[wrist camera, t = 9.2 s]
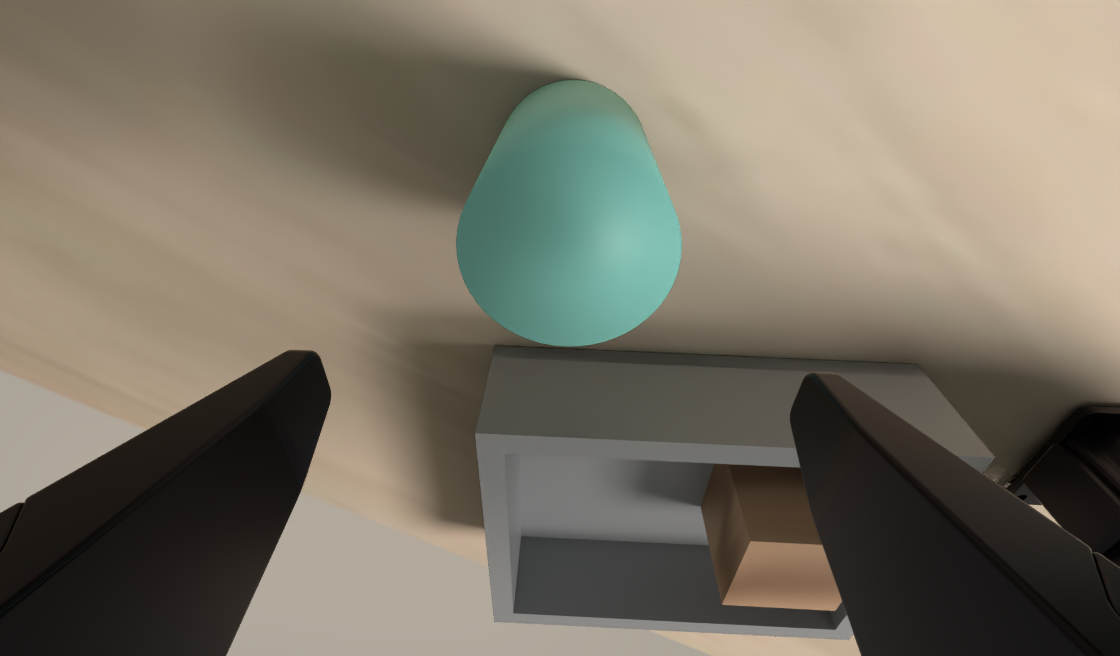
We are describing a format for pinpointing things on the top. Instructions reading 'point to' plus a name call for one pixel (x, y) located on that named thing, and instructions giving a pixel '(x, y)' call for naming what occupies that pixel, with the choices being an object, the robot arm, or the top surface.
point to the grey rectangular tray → (650, 479)
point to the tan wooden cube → (766, 539)
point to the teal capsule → (570, 220)
